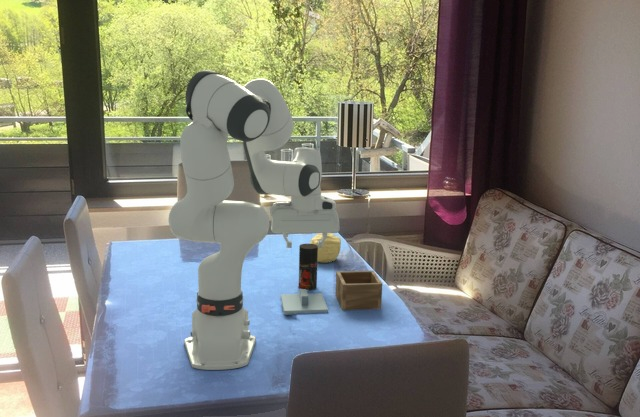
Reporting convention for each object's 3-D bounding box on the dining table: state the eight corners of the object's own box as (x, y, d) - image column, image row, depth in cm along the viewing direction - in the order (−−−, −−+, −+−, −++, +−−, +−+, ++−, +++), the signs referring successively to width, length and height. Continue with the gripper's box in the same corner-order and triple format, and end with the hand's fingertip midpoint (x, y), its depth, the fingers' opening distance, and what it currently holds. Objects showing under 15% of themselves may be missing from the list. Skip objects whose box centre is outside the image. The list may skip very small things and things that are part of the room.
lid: (327, 316, 191) (328, 300, 189) (284, 317, 189) (284, 301, 187) (321, 299, 203) (321, 284, 202) (280, 300, 201) (280, 285, 200)
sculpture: (313, 266, 234) (313, 237, 231) (305, 256, 245) (306, 229, 242) (343, 264, 236) (344, 236, 234) (334, 254, 248) (335, 227, 245)
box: (380, 311, 194) (382, 283, 192) (342, 313, 192) (343, 284, 190) (372, 297, 206) (373, 270, 204) (335, 298, 204) (336, 271, 202)
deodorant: (320, 289, 211) (321, 246, 207) (307, 294, 206) (308, 250, 203) (307, 285, 215) (308, 242, 211) (294, 289, 210) (295, 245, 207)
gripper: (271, 204, 183) (270, 250, 186) (341, 204, 186) (339, 249, 189) (269, 199, 189) (269, 244, 192) (337, 199, 192) (336, 244, 195)
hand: (304, 247), depth 191 cm, fingers open, 8 cm apart
